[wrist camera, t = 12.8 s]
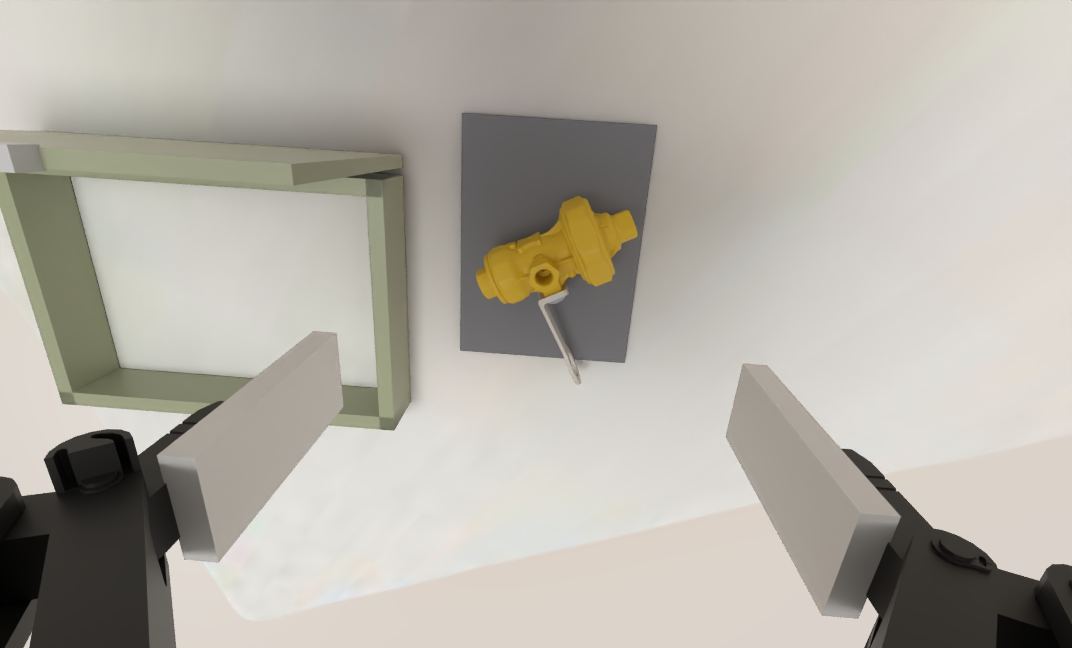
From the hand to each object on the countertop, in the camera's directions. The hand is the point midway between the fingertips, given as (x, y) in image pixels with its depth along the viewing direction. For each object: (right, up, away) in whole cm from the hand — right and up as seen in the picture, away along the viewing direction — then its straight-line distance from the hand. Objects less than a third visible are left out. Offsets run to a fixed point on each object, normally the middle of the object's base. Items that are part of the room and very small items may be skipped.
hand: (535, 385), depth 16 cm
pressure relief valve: (+3, +4, +18) cm, 19 cm away
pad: (+1, +7, +18) cm, 19 cm away
